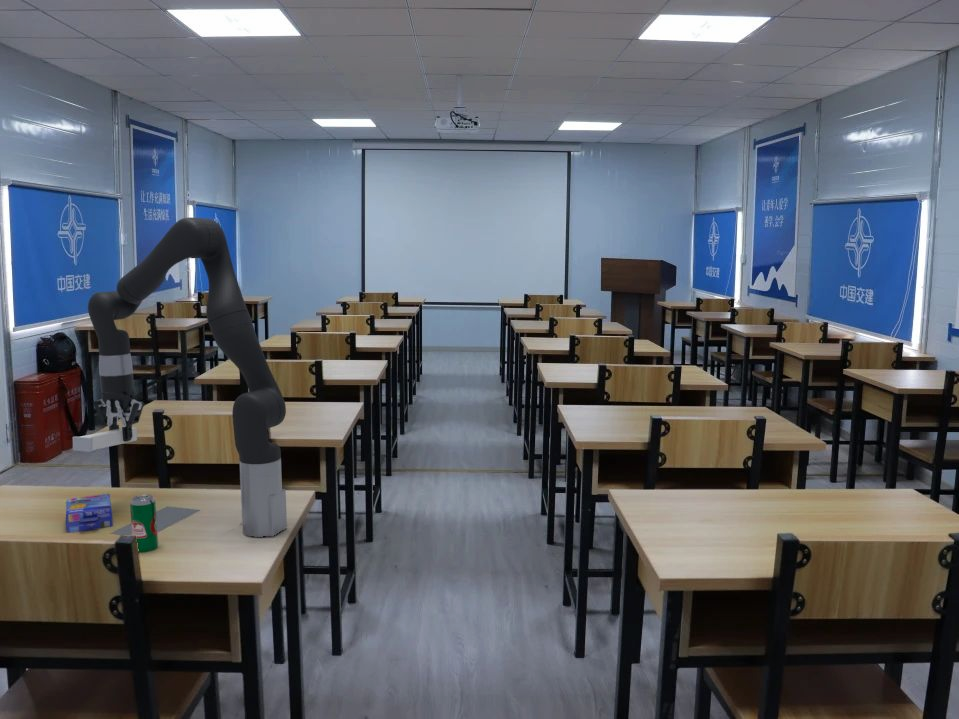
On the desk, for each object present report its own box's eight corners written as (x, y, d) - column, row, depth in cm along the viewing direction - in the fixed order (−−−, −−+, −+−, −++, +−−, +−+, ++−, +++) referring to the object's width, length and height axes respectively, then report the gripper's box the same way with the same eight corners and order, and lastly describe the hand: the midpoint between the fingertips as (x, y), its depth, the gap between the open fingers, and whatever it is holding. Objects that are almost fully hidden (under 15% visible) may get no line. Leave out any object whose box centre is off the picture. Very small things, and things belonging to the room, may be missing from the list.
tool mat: (201, 512, 199) (201, 509, 198) (146, 540, 180) (146, 537, 180) (167, 508, 201) (167, 506, 201) (109, 535, 182) (109, 533, 182)
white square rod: (140, 440, 202) (140, 428, 201) (90, 451, 186) (89, 438, 185) (123, 439, 203) (123, 427, 203) (72, 450, 187) (72, 437, 187)
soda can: (128, 552, 173) (124, 499, 171) (147, 544, 177) (144, 492, 175) (144, 556, 170) (140, 502, 169) (163, 548, 175) (160, 496, 173)
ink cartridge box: (110, 491, 197) (112, 510, 184) (111, 513, 198) (114, 533, 185) (65, 497, 193) (64, 517, 180) (66, 519, 194) (66, 540, 181)
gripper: (150, 371, 198) (155, 438, 200) (104, 369, 202) (109, 435, 204) (129, 375, 191) (134, 445, 193) (81, 373, 195) (87, 442, 197)
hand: (121, 440), depth 199 cm, fingers closed on white square rod, 3 cm apart
